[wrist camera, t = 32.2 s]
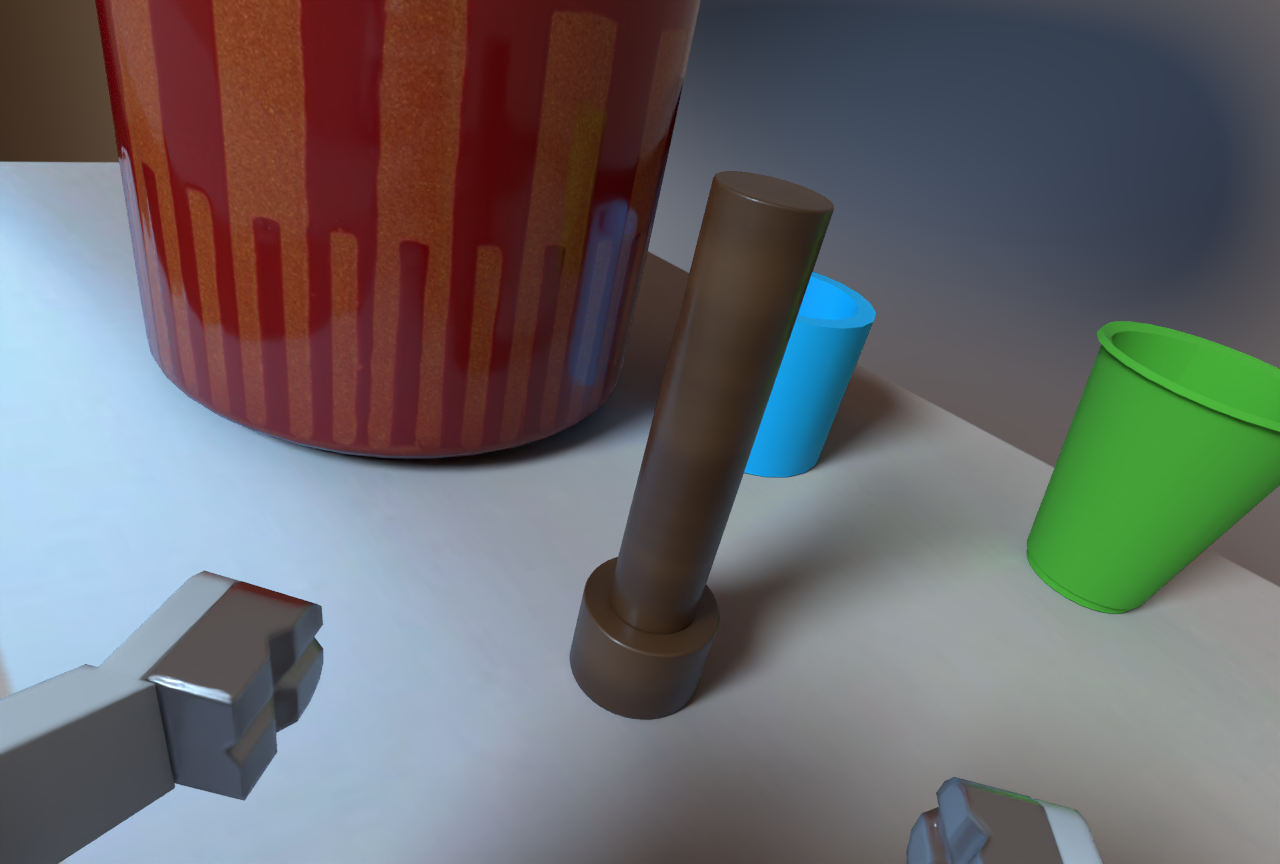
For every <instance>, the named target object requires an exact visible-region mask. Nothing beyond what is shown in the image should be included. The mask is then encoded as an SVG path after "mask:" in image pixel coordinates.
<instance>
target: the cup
mask: <svg viewBox="0 0 1280 864" xmlns="http://www.w3.org/2000/svg"><path fill="white" fill-rule="evenodd" d="M1097 336H1098V340H1099V341H1100V343H1101V347H1100V350H1099V352H1098V355H1097V358H1096V360H1095V363H1094V366H1093V368H1092V371H1091V374H1090V376H1089V379H1088V381H1087V384H1086V387H1085V389H1084V392H1083V395H1082V397H1081V400H1080V403H1079V405H1078V408H1077V411H1076V413H1075V416H1074V418H1073V421H1072V424H1071V426H1070V429H1069V432H1068V435H1067V437H1066V439H1065V442H1064V445H1063V447H1062V450H1061V453H1060V455H1059V458H1058V460H1057V463H1056V466H1055V468H1054V471H1053V474H1052V476H1051V479H1050V482H1049V484H1048V487H1047V489H1046V492H1045V495H1044V497H1043V500H1042V503H1041V505H1040V508H1039V511H1038V513H1037V516H1036V519H1035V521H1034V524H1033V526H1032V529H1031V532H1030V534H1029V537H1028V540H1027V548H1028V549H1027V558H1028V560H1029V563H1030V565H1031V566H1032V568H1033V569H1034V571H1035V572H1036V573H1037V575H1038V576H1039V577H1040V578H1041V579H1042V580H1043V581H1044V582H1045V583H1047V584H1048V585H1049V586H1050V587H1052V588H1053V589H1054V590H1055V591H1057V592H1059V593H1060V594H1062V595H1063V596H1065V597H1066V598H1068V599H1070V600H1072V601H1074V602H1076V603H1078V604H1080V605H1082V606H1085V607H1087V608H1090V609H1093V610H1096V611H1100V612H1105V613H1113V614H1120V613H1125V612H1128V611H1129V610H1130V609H1134V608H1138V607H1139V606H1141V605H1142V604H1143V603H1144V602H1145V601H1147V600H1148V599H1149V598H1150V597H1151V596H1152V595H1153V594H1155V593H1156V592H1157V591H1158V590H1159V589H1160V588H1162V587H1163V586H1164V585H1165V584H1166V583H1167V582H1168V581H1170V580H1171V579H1172V578H1173V577H1174V576H1175V575H1177V574H1178V573H1179V572H1180V571H1181V570H1182V569H1183V568H1185V567H1186V566H1187V565H1188V564H1189V563H1190V562H1192V561H1193V560H1194V559H1195V558H1196V557H1197V556H1198V555H1200V554H1201V553H1202V552H1203V551H1204V550H1205V549H1207V548H1208V547H1209V546H1210V545H1211V544H1212V543H1213V542H1215V541H1216V540H1217V539H1218V538H1219V537H1220V536H1222V534H1224V533H1225V532H1226V531H1227V530H1228V529H1230V528H1231V527H1232V526H1233V525H1234V524H1235V523H1236V522H1238V521H1239V520H1240V519H1241V518H1242V517H1243V516H1244V515H1246V514H1247V513H1248V512H1249V511H1250V510H1251V509H1253V508H1254V507H1255V506H1256V505H1257V504H1258V503H1259V502H1261V501H1262V500H1263V499H1264V498H1265V497H1266V496H1268V495H1269V494H1270V493H1271V492H1272V491H1273V490H1275V488H1277V487H1278V486H1279V485H1280V369H1278V368H1276V367H1274V366H1272V365H1270V364H1267V363H1265V362H1263V361H1261V360H1259V359H1256V358H1254V357H1252V356H1249V355H1246V354H1244V353H1241V352H1239V351H1236V350H1234V349H1231V348H1229V347H1226V346H1223V345H1220V344H1218V343H1215V342H1212V341H1209V340H1206V339H1203V338H1200V337H1197V336H1193V335H1190V334H1187V333H1183V332H1179V331H1176V330H1172V329H1168V328H1164V327H1160V326H1155V325H1150V324H1144V323H1137V322H1122V321H1117V322H1112V323H1108V324H1106V325H1104V326H1103V327H1102V328H1101V329H1100V330H1099V331H1098V332H1097Z"/></svg>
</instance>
